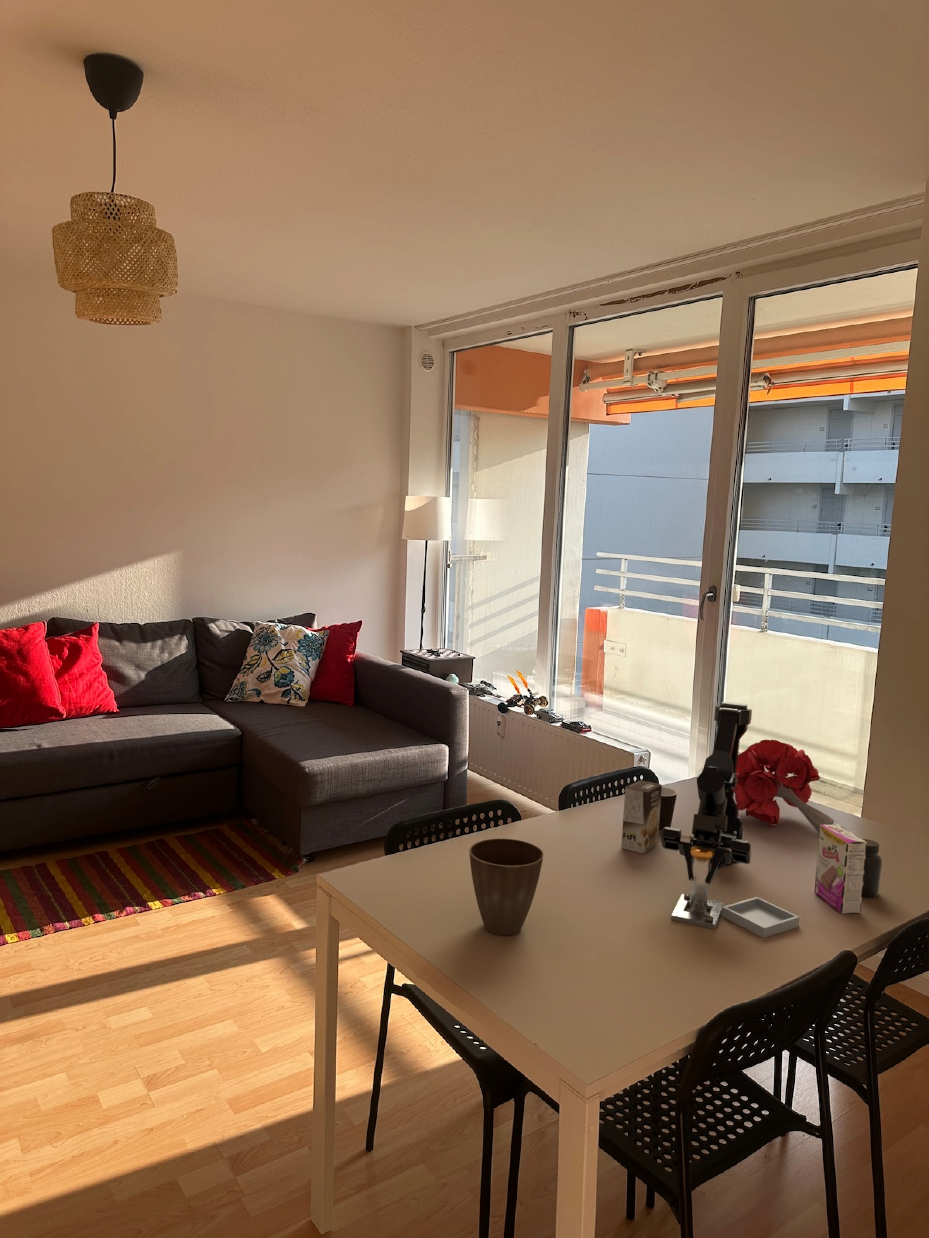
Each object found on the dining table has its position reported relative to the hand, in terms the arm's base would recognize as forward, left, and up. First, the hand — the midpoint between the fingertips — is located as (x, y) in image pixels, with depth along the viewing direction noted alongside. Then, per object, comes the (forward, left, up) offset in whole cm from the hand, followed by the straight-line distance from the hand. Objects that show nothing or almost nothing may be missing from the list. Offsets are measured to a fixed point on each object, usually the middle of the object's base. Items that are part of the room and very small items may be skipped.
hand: (699, 881), depth 188 cm
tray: (-10, +8, -8) cm, 15 cm away
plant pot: (+40, -15, -8) cm, 43 cm away
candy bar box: (-33, +10, -8) cm, 36 cm away
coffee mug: (-33, -46, -8) cm, 57 cm away
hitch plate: (-1, -1, -8) cm, 8 cm away
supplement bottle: (-44, +9, -8) cm, 46 cm away
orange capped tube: (-1, -1, -8) cm, 8 cm away
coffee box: (-17, -36, -8) cm, 40 cm away
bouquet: (-65, -31, -8) cm, 73 cm away
